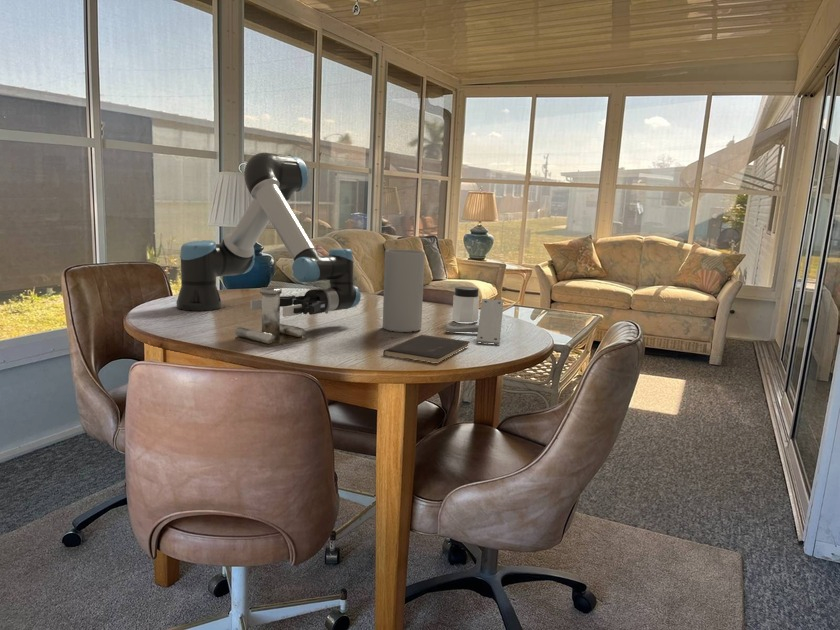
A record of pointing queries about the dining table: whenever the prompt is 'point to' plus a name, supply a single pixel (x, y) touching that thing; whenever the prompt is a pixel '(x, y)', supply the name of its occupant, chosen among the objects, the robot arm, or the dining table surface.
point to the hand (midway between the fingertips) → (266, 308)
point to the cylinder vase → (403, 290)
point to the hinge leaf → (271, 336)
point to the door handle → (485, 322)
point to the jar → (465, 304)
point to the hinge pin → (271, 310)
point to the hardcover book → (426, 348)
